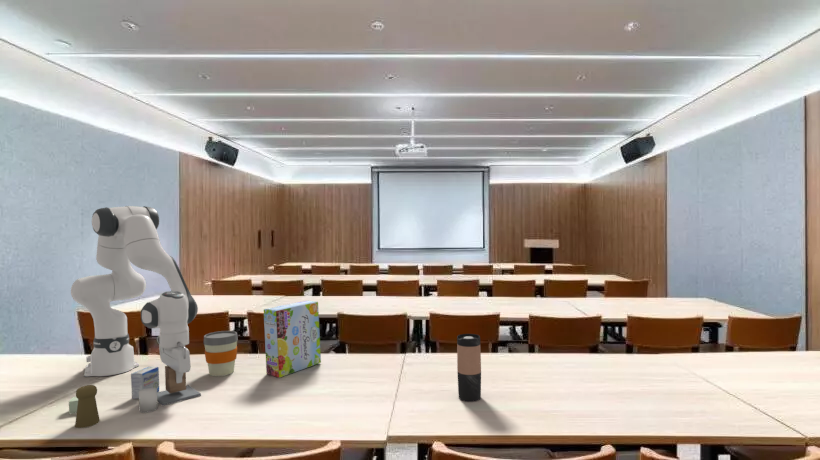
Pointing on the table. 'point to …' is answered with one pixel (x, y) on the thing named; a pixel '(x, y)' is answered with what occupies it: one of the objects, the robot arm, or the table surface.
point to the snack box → (291, 337)
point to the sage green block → (73, 405)
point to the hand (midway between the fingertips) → (175, 380)
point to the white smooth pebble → (148, 400)
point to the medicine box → (144, 380)
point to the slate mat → (176, 395)
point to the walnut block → (173, 381)
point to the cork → (86, 407)
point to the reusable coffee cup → (221, 352)
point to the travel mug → (469, 367)
